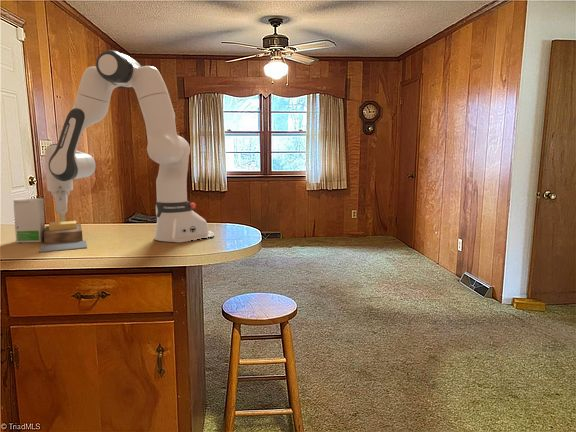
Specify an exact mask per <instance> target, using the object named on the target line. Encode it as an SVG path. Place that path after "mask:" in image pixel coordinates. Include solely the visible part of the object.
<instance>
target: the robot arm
mask: <svg viewBox="0 0 576 432" xmlns="http://www.w3.org/2000/svg"><path fill="white" fill-rule="evenodd" d="M116 88H119V89H134V91H135V95H136V97H137V101H138V103H139V107H140V110H141V113H142V117H143V120H144V124H145V130H146V131H145V132H146V137H147V146H146V152H147V155H148V157H149V158H150V160H152V161H153V162H155V163H157V164H159V167H158V174H157V177H156V179H155V185H156V186H155V188H156V192H155V193H156V201H155V216H156V226H155V233H154V236H153V237H154V238H153V239H154V240H155V241H158V242H172V243H184V242H185V243H186V242H192V241H191V240H193V241H198V240H197V239H200V240H202V239H201V238H207V239H209V238H208V237H213V236H214V237H215V233H214V232H213V231H212V230H209V226H208V222H207V220H206V219H205V218H204V217H203V216H201V215H199V213H197V212H195V211H194V210H193V209H196V206H197V204H196V203H195V202H191V201H189V200H188V190H187V189H188V188H187V185H188V183H187V179H188V171H189V162H190V154H191V147H190V146H191V145H190V143H189V142H188V141H187V140H186V139H185V138H184V137H182V136H180V135H178V132H177V126H176V113H175V111H174V107H173V104H172V101H171V96H170V93H169V90H168V87H167V85H166V83H165V81H164V78H163V77H162V75H161V73H160V71H159V69H157V68H156V67H155V66H153V65H152V66H151V65H142V63H140V62H139V61H138V60H136V59H134V58H133V57H130V56H129V55H127V54H125V53H122V52H119V51H117V50H111V49H109V50H105V51H102V52H101V53H99V55H98V56H97V57H96V60H95V65H93V66H88V67H87V68H86V69H84V71H83V74H82V76H81V78H80V82H79V85H78V89H77V92H76V97H75V101H74V103H73V106H72V108H71V109H70V111H69V112H68V114H67V115H66V118H65V120H64V123H63V126H62V130H61V132H60V136H59V138H58V142H57V143H52V144H49V145H47V146H46V148H45V151H44V152H45V153H44V164H45V166H44V167H45V169H46V177H45V179H46V189H47V191H48V192H50V193H51V196H54V202H55V213H57V214H58V215H59V222H65V221H66V214H67V213H68V201H69V197H68V196H70V195H71V191H74V181H73V180H77V179H84V178H89V177H91V176H93V175H94V173H95V172H96V169H97V162H96V160H95V158H94V157H93V156H92V155H91V154H89V153H86V152H82V151H80V150H78V146H79V143H80V140H81V138H82V137H81V136H82V135H83V133H84V131H85V130H87V128H89V127H91V126H92V125H94V124H97V123H100V122H101V121H102V120H103V119H105V117H106V115H107V114H108V111H109V108H110V103H111V97H112V95H113V91H114V90H115V89H116ZM214 237H213V238H214Z"/></svg>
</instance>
